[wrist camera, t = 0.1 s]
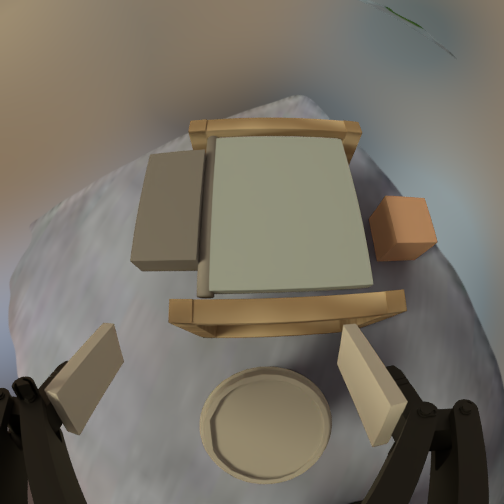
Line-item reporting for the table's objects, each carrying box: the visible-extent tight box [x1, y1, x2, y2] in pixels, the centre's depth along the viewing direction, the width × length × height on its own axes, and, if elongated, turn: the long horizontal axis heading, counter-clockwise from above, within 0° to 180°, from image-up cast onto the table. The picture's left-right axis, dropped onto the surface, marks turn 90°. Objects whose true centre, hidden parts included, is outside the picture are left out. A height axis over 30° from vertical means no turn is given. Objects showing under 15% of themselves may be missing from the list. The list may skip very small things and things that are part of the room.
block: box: [369, 196, 437, 262], centre depth 31 cm, size 6×6×6 cm
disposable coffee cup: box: [200, 367, 332, 484], centre depth 21 cm, size 10×10×12 cm
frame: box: [169, 118, 407, 338], centre depth 27 cm, size 19×17×13 cm
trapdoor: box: [130, 136, 373, 298], centre depth 22 cm, size 15×18×2 cm
